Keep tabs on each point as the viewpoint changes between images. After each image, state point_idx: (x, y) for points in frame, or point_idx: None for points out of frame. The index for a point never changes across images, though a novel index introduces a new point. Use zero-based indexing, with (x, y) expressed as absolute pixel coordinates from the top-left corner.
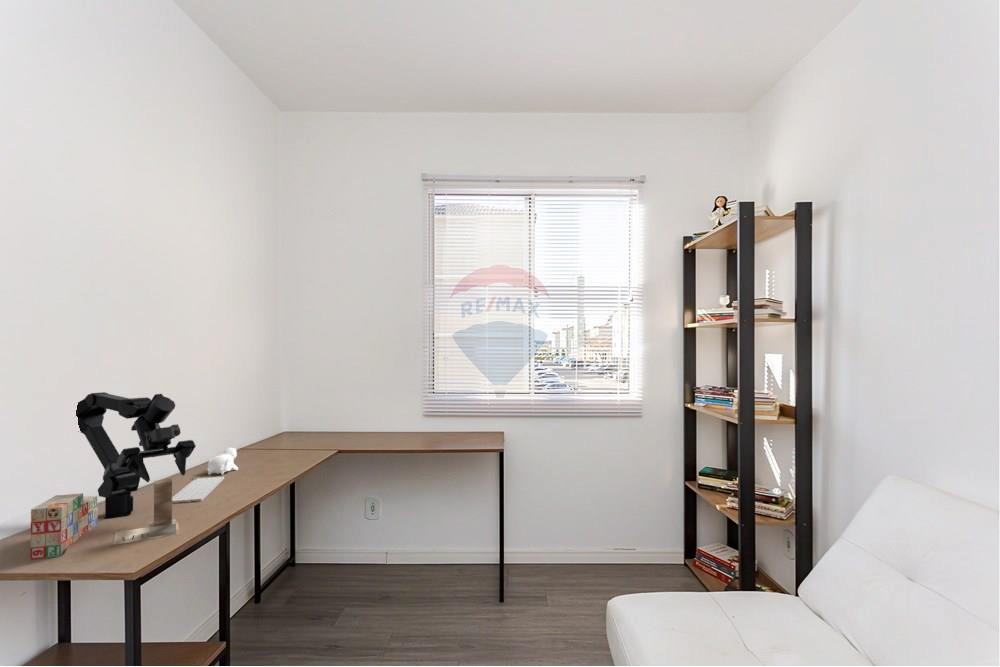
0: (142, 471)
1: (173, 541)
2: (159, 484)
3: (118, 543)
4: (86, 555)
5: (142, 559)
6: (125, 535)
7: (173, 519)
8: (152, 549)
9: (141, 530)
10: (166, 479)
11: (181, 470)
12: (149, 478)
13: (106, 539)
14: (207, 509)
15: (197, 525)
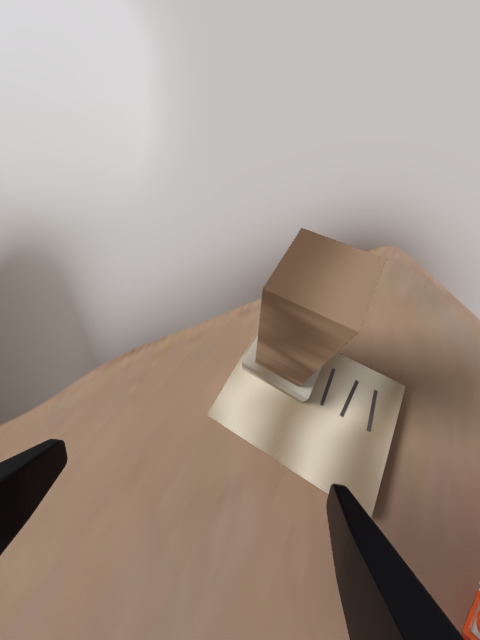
0: (449, 633)
1: None
2: (357, 254)
3: (392, 384)
4: (459, 410)
5: None
6: (358, 441)
7: (250, 359)
8: None
9: (308, 444)
10: (289, 300)
11: (20, 497)
12: (339, 490)
13: (391, 519)
14: None
15: (180, 373)
